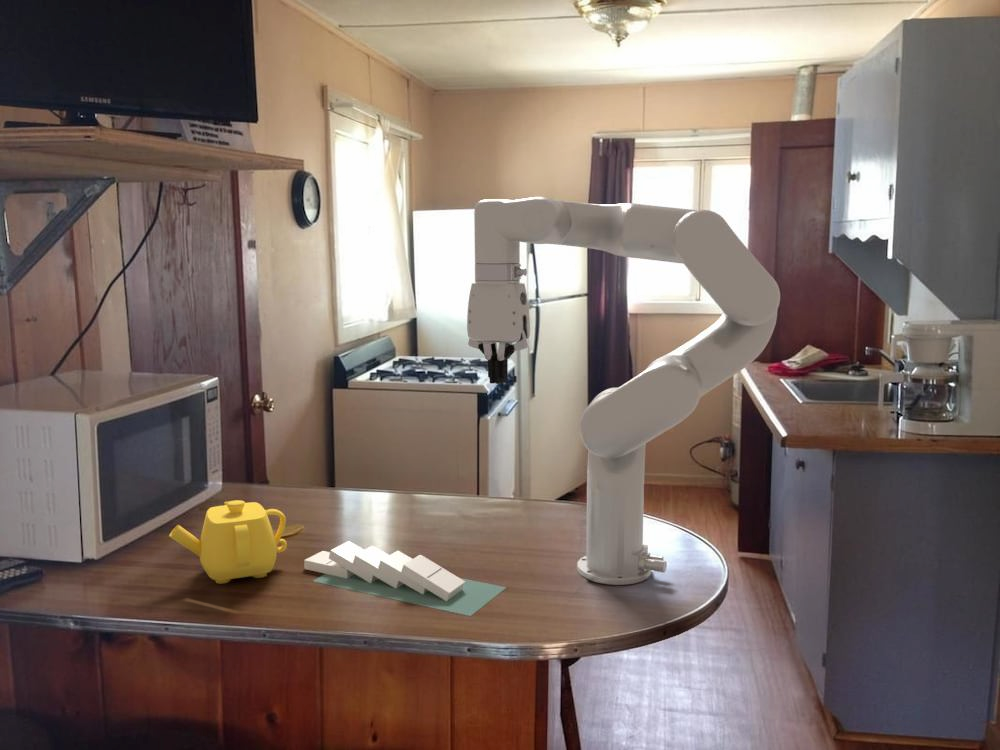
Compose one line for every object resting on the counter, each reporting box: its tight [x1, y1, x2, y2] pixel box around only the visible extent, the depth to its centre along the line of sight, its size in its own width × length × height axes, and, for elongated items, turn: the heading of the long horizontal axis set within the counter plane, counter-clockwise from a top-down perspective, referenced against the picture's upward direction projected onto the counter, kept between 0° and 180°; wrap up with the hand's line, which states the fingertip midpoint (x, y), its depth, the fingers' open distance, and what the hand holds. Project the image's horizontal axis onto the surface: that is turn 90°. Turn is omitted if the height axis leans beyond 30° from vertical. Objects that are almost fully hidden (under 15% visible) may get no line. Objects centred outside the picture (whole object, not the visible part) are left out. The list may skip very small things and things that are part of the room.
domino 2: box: [329, 540, 379, 583], centre depth 144 cm, size 2×5×9 cm
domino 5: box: [401, 554, 465, 601], centre depth 137 cm, size 2×5×9 cm
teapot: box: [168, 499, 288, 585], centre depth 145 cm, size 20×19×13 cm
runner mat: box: [312, 573, 507, 617], centre depth 140 cm, size 30×12×1 cm, turn 63°
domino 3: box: [353, 545, 404, 589], centre depth 142 cm, size 2×5×9 cm
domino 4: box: [378, 550, 429, 594], centre depth 140 cm, size 2×5×9 cm
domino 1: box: [303, 550, 354, 578], centre depth 147 cm, size 2×5×9 cm
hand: (497, 382), depth 146 cm, fingers closed
